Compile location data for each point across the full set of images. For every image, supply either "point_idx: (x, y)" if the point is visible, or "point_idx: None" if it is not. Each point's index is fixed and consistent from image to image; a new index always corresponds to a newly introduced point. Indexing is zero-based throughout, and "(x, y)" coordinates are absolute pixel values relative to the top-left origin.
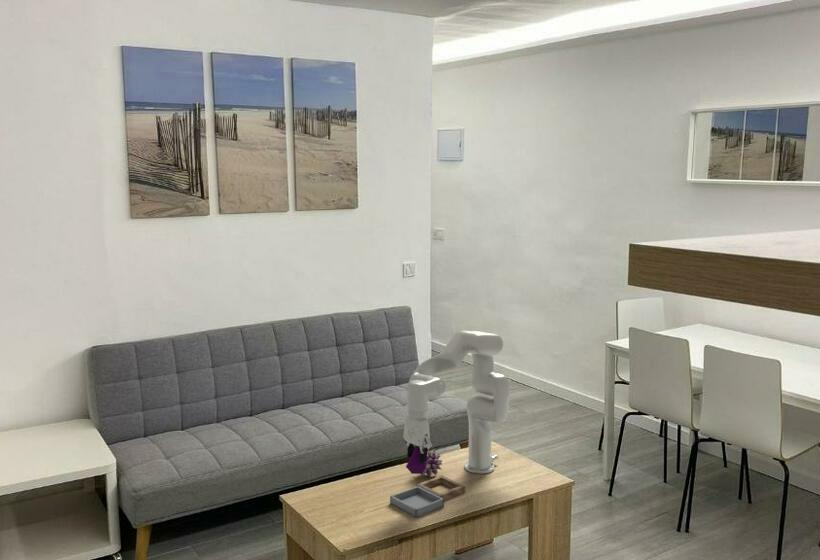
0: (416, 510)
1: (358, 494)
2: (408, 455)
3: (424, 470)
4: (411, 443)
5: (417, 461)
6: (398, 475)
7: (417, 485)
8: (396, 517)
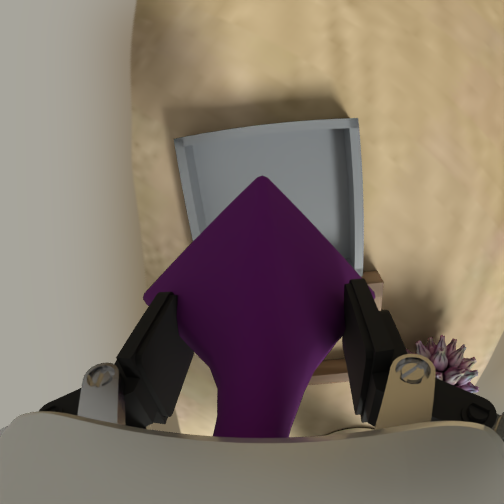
0: (175, 141)
1: (472, 81)
2: (354, 292)
3: (421, 353)
4: (233, 439)
5: (195, 289)
6: (486, 284)
7: (377, 281)
8: (227, 73)
